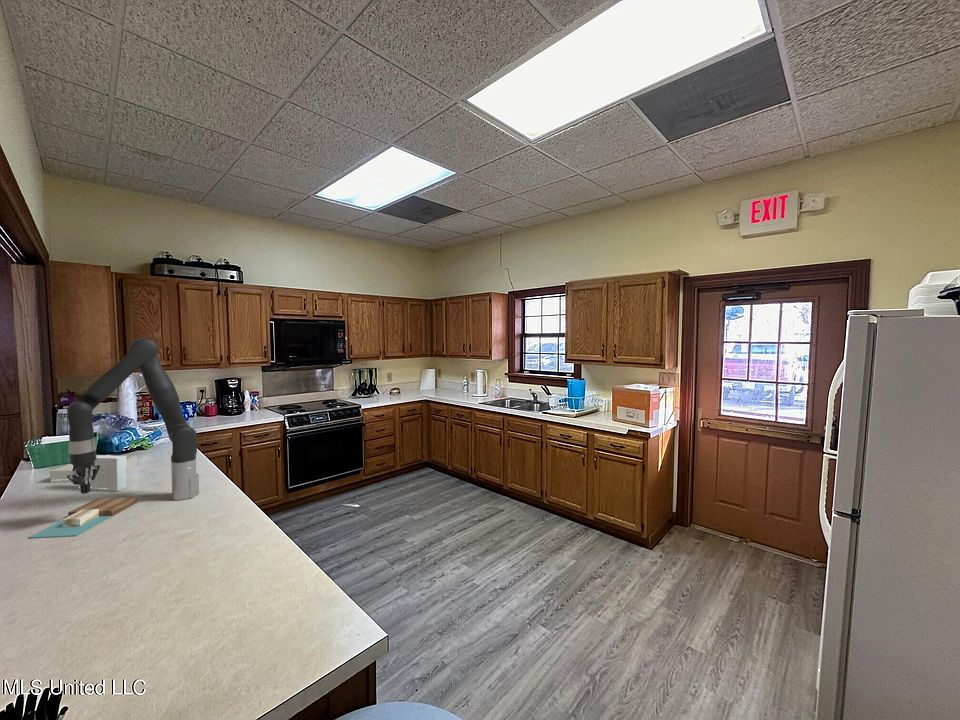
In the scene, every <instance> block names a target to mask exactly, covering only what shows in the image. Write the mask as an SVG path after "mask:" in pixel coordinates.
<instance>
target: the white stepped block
mask: <svg viewBox="0 0 960 720" xmlns="http://www.w3.org/2000/svg"><path fill="white" fill-rule="evenodd" d="M125 456H126V464H127V468H128V469H127V472H128V471H129V470H132V469H134V468H136V467H138V455H125ZM136 464H137V465H136ZM134 465H135V466H134ZM132 466H133V467H132ZM129 467H130V468H129ZM72 470H73V465H72V464H70V463H69V464H67V465H63V466H60V467H58V468H55V469H52V470H50V471H49V475H50V476H49V479H50V480H53V479H55V480H56V479H68V478H67V476H68V475H71V474H72V473H73V471H72ZM50 483H51V484H52V483H54V484H55V483H56V484H57V483H72V482H71V481H70V480H61V481H50Z"/></svg>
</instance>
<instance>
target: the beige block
mask: <svg viewBox="0 0 960 720" xmlns="http://www.w3.org/2000/svg"><path fill="white" fill-rule="evenodd" d="M97 517H99V509H88V510H81V511H79V512H77V513H75V514H73V515H71V516H69V517H68V516H67V517H66V518H63V519H62V520H61V521H63V527H79V526H82V525H84V524H86V523H88V522H89V521H91V520H93V519H95V518H97Z"/></svg>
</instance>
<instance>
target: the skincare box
mask: <svg viewBox="0 0 960 720" xmlns="http://www.w3.org/2000/svg"><path fill="white" fill-rule="evenodd" d="M110 455H111V454H107V455H105V454H103V455H101V454H96V460H95V461H94V462H95V465H100V468H99V471H98V473H97V475H96V477H95V479H94V480H92V481H91V483H90V487H92V488H90V491H102V492H103V491H104V492H105V491H107V492H119V491H122V490H124V489H127V487H128V484H127V483H128V480H127V478H128V476H127V473H128V471H127V464H126V456H127V455H112V456H110ZM79 487H80V485H78V490H80V488H79ZM98 488H107V489H98ZM80 491H81V490H80Z"/></svg>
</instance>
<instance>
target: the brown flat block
mask: <svg viewBox="0 0 960 720" xmlns="http://www.w3.org/2000/svg"><path fill="white" fill-rule="evenodd" d="M137 499H138V498H137V496H132V497H131V496H130V497H129V496H128V497H107V498H106V497H105V498H95V499H92V500H91V501H88V502H87V503H85V504H83V505H81V506H78V507H77V508H74V509H73V510H70V511H68V512H67V514H68V515H67V517H69V516H71V515H73V514H75V513H77V512H79V511H81V510H88V509H99V517H101V516H111V517H114V516H116V515H117V514H119V513H121V512H123V511H124V510H126V509H128V508H130V507H132V506H133V505H135V504H137V502H138V500H137Z"/></svg>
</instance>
